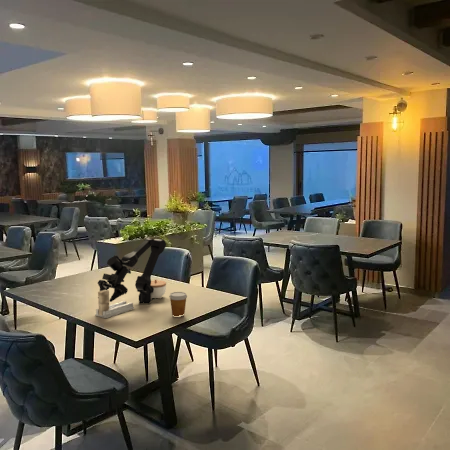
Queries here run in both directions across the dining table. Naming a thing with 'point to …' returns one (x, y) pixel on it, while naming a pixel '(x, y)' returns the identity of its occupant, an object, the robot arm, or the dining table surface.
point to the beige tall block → (103, 301)
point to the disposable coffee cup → (178, 303)
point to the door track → (115, 309)
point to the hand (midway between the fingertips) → (104, 300)
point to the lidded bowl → (158, 288)
